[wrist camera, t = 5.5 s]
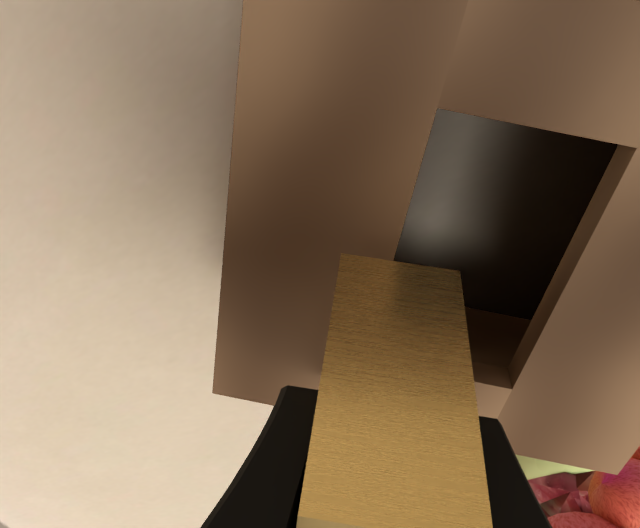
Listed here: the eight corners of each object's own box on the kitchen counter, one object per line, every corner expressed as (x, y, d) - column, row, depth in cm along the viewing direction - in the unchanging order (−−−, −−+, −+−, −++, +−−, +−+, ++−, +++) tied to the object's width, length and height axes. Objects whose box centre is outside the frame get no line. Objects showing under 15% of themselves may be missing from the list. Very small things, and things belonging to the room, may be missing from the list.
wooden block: (459, 271, 12) (495, 549, 7) (414, 426, 15) (417, 699, 10) (341, 253, 12) (297, 516, 7) (318, 410, 15) (275, 674, 10)
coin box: (769, -2, 14) (935, 60, 10) (572, 346, 21) (617, 475, 17) (296, -96, 15) (249, -77, 10) (252, 281, 21) (212, 392, 17)
